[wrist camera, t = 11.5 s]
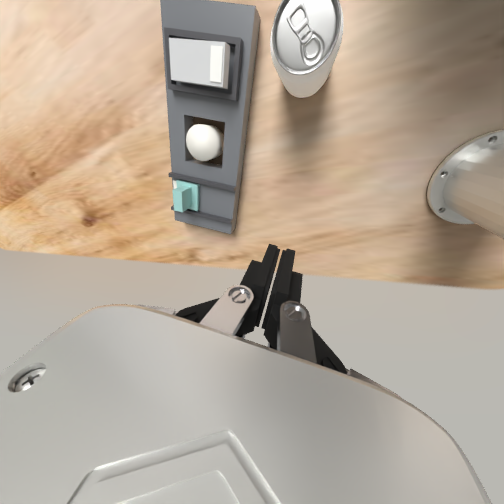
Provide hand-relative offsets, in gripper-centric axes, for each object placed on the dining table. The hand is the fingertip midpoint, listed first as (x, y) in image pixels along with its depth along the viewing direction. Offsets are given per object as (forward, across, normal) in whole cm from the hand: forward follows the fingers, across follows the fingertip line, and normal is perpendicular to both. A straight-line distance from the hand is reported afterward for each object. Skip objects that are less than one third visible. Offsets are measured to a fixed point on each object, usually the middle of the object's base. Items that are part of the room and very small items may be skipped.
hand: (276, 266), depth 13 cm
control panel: (+25, +16, -3) cm, 30 cm away
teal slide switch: (+22, +19, +6) cm, 30 cm away
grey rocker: (+20, +16, -12) cm, 29 cm away
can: (+26, +3, -14) cm, 30 cm away
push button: (+25, +16, -3) cm, 30 cm away
